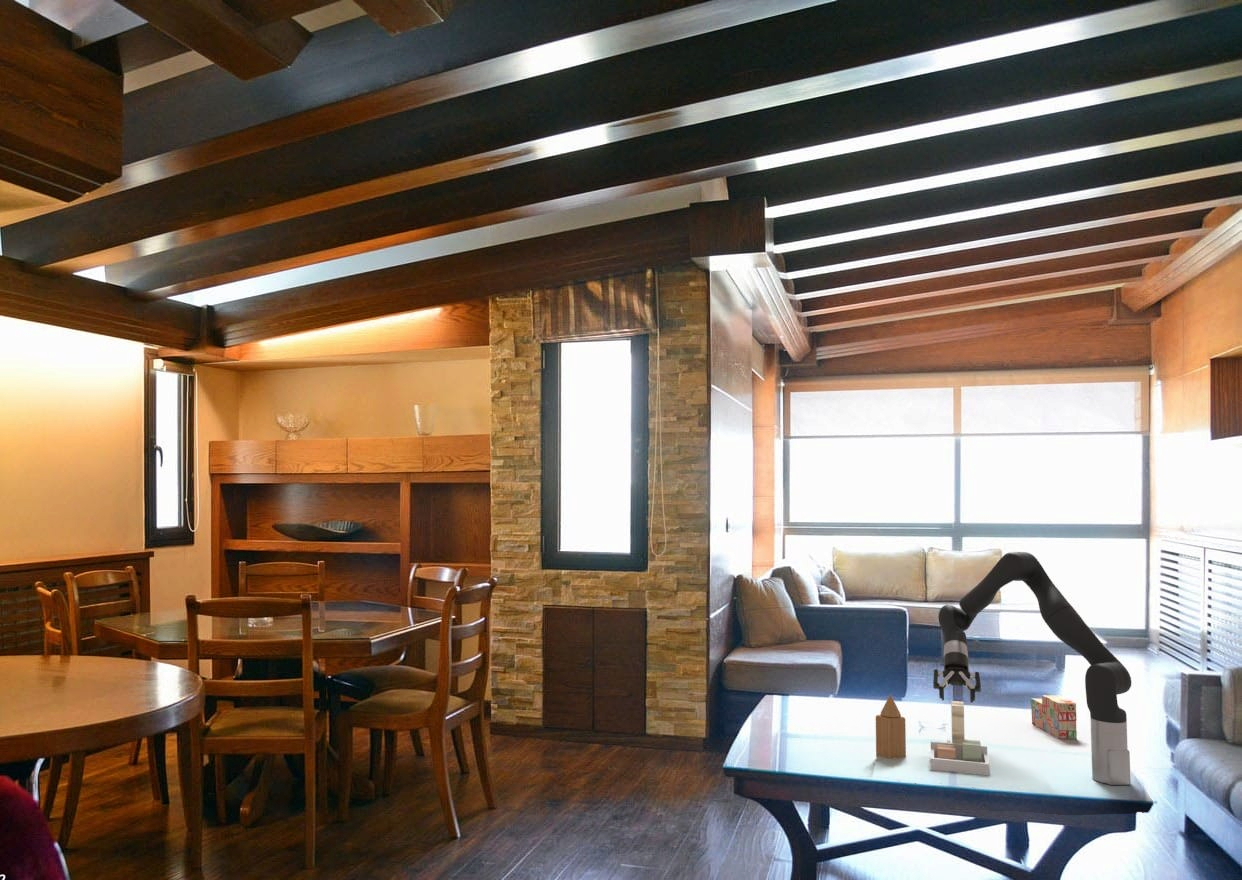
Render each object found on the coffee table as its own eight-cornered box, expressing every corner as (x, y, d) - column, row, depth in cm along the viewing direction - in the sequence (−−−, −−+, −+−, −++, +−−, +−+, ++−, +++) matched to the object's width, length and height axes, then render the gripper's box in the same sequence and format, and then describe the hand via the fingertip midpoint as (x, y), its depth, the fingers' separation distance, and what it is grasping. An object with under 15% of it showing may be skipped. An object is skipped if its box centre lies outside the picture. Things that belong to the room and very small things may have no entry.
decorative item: (906, 761, 274) (905, 695, 276) (890, 763, 271) (889, 696, 273) (891, 755, 280) (890, 691, 282) (875, 758, 277) (874, 692, 279)
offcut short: (955, 767, 263) (955, 749, 263) (937, 765, 265) (937, 748, 265) (955, 762, 268) (955, 745, 268) (937, 761, 269) (937, 744, 270)
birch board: (964, 760, 270) (963, 706, 272) (952, 759, 272) (951, 705, 273) (964, 754, 277) (963, 701, 278) (952, 753, 278) (951, 700, 279)
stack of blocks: (1031, 724, 324) (1030, 689, 325) (1048, 724, 324) (1047, 689, 324) (1058, 739, 302) (1057, 702, 303) (1077, 739, 302) (1076, 702, 303)
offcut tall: (981, 770, 260) (980, 745, 261) (963, 768, 262) (962, 744, 262) (980, 764, 266) (980, 740, 266) (962, 763, 267) (962, 739, 268)
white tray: (989, 780, 256) (989, 757, 256) (930, 774, 261) (930, 751, 261) (985, 758, 278) (985, 736, 279) (931, 753, 283) (930, 732, 284)
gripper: (932, 649, 294) (933, 691, 282) (979, 652, 289) (981, 695, 278) (933, 663, 299) (933, 705, 287) (979, 666, 294) (981, 708, 282)
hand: (957, 700), depth 282 cm, fingers open, 8 cm apart
